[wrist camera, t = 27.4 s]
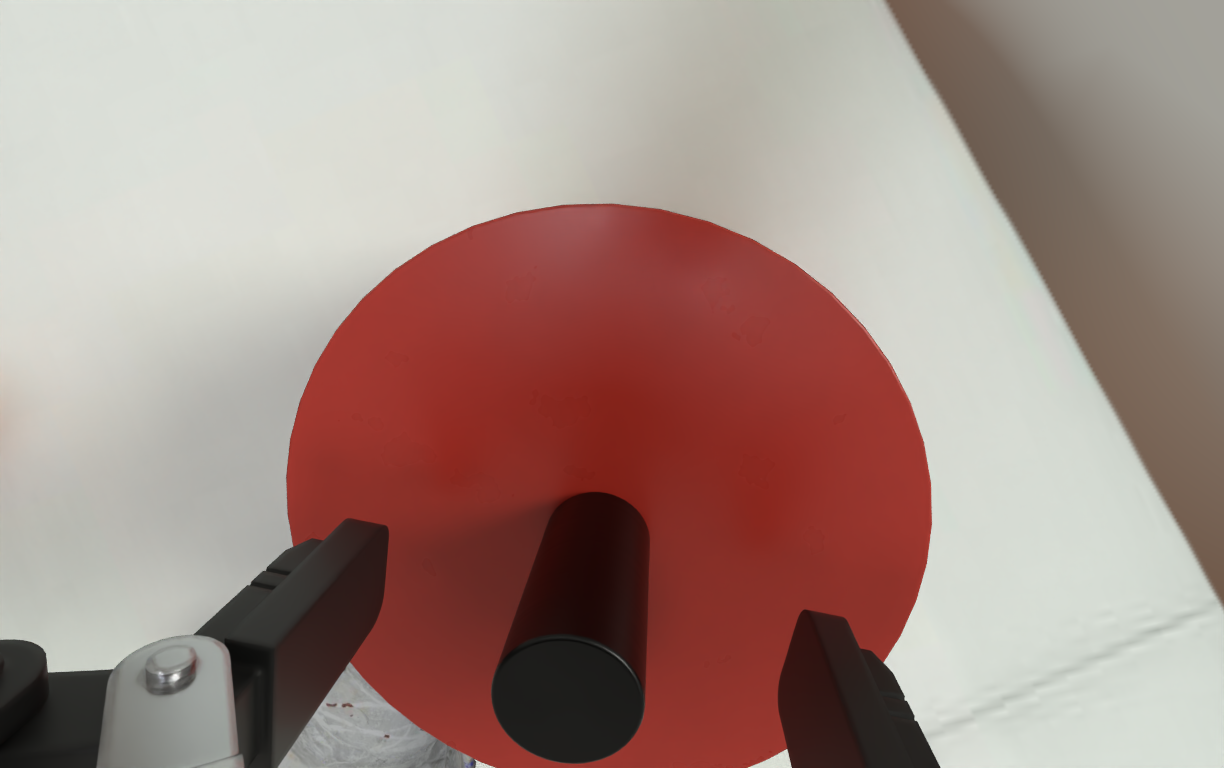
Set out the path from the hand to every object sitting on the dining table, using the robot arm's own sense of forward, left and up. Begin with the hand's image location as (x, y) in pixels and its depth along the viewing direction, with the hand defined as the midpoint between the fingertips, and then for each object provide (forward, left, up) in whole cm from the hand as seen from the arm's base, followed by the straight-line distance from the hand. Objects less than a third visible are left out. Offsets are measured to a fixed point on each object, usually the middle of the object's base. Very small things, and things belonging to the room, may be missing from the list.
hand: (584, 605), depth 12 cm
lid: (0, 0, -3) cm, 3 cm away
